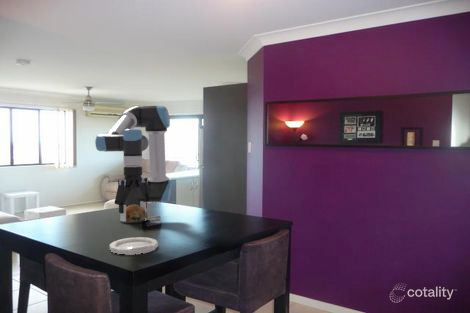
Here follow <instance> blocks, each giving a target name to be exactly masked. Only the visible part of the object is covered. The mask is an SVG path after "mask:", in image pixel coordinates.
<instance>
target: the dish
mask: <svg viewBox="0 0 470 313" xmlns="http://www.w3.org/2000/svg"><path fill="white" fill-rule="evenodd" d="M158 245H159V242H158V240H156V239H154V238H151V237H147V236H145V237H143V236H142V237H141V236H136V237H125V238H121V239H118V240H115V241H112V242H111V243H110V244H109V251H110V250H111V251H110V253H111V252H113V253H112V254H115V253H117V254H116V255H119V254H125V255H124V256H135V254H136V255H141V253H143V254H146V253H150V252H153V251H155V250H156V249H157V248H158V247H159V246H158Z"/></svg>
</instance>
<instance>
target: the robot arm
mask: <svg viewBox="0 0 470 313" xmlns="http://www.w3.org/2000/svg"><path fill="white" fill-rule="evenodd" d="M170 119H171V118H170V115H169V111H168V109H167V107H166V106H164V105H135V106H133V107H130V108H127V109H126V110H124V111H123V112H122V113H121V114H120V115H119V117H118V120H117V121H116V123H115V124H114V125H113V126H112V127H110V129H109V131H108V132H107V133H106V134H104V133H102V134H98V135H96V137H95V141H94V143H95V148H96V150H97V151H98V152H105V153H106V152H123V166H124V167H123V175H124V179H118V180H117V188H116V189H117V190H116V194H115V199H114V205H117V206H118V213H119V216H120V218H119V219H120V223H123V224H142V223H144V222H143V220H141V221H136V222H125V221H126V207H128V206H130V205H139V206H141V207H143V208H144V210H145V212H146V218H148V219H149V215H148V212H147V208H148V203H167V202H169V200H170V198H171V194H172V188H173V187H172V185H173V184H172V183H173V182H172V181H169V177H168V176H167V174H166V147H165V146H166V145H165V144H166V143H165V141H166V140H165V133H166V132H167V131H168V128H170V126H171V121H170ZM136 128H139V129H136ZM140 128H144V129H145V133H147V134H148V135H147V136H148V137H147V136H145V135H144V134H143V132H142V130H141V129H140ZM147 149H148V153H149V158H148V159H149V177H142V175H143V167H142V165H143V152H144V151H146V150H147Z"/></svg>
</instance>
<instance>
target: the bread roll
mask: <svg viewBox="0 0 470 313" xmlns="http://www.w3.org/2000/svg"><path fill="white" fill-rule="evenodd" d="M146 212H147V211H146ZM146 212H145V210H144V208H143V207H141V206H139V205H130V206H128V207H126V221H125V222H136V221H141V220H144V219H145V218H146Z"/></svg>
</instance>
